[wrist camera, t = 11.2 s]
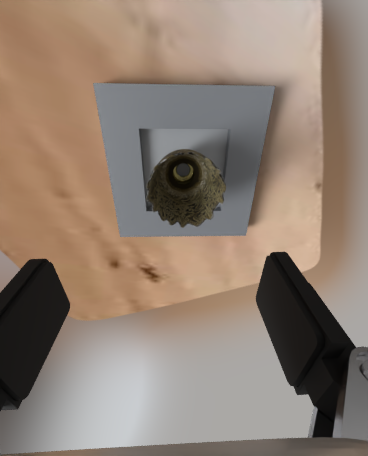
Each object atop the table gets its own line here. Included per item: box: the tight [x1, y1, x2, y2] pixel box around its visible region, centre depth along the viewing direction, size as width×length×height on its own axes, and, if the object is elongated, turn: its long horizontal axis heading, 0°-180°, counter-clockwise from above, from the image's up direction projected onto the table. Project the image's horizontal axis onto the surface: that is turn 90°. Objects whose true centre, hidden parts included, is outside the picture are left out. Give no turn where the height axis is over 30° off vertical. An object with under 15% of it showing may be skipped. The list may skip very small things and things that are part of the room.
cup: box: [146, 149, 226, 228], centre depth 23 cm, size 8×7×8 cm
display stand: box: [93, 83, 275, 237], centre depth 27 cm, size 18×18×2 cm
